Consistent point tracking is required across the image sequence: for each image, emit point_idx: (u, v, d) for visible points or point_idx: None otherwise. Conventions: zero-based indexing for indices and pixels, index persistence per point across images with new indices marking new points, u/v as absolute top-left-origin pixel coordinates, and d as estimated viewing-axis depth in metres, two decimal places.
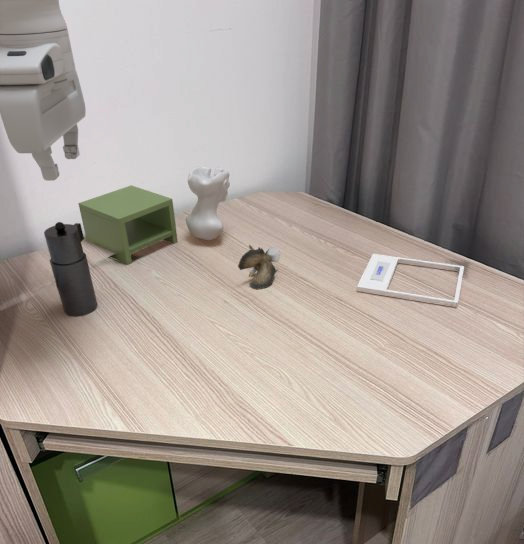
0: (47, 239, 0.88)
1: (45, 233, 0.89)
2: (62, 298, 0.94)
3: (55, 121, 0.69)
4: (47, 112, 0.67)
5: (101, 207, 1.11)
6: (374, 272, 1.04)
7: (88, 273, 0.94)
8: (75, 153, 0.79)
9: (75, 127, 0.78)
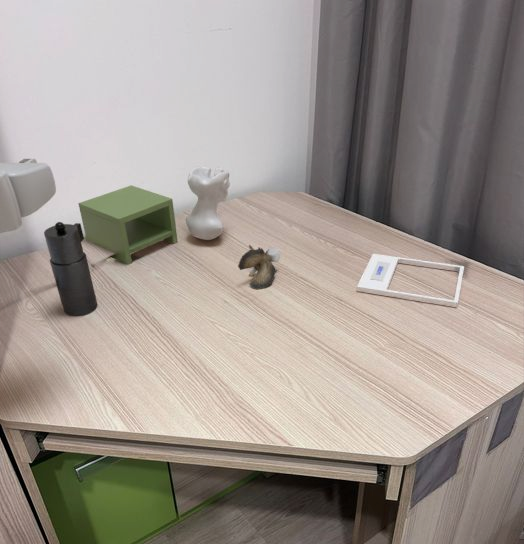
0: (47, 239, 0.88)
1: (45, 233, 0.89)
2: (62, 298, 0.94)
3: None
4: None
5: (101, 207, 1.11)
6: (374, 272, 1.04)
7: (88, 273, 0.94)
8: None
9: None
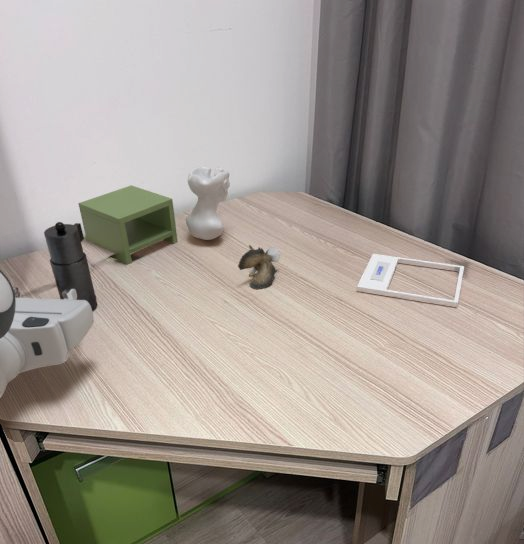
0: (47, 239, 0.88)
1: (45, 233, 0.89)
2: (62, 298, 0.94)
3: (42, 305, 0.78)
4: (50, 311, 0.76)
5: (101, 207, 1.11)
6: (374, 272, 1.04)
7: (88, 273, 0.94)
8: (14, 289, 0.84)
9: None
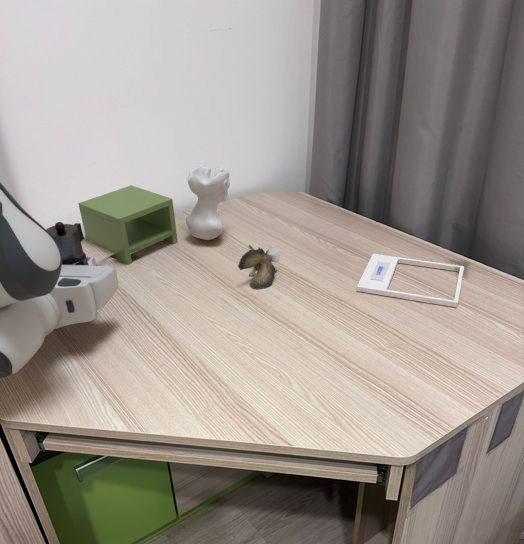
0: None
1: None
2: None
3: (72, 270, 0.87)
4: (80, 275, 0.85)
5: (101, 207, 1.11)
6: (374, 272, 1.04)
7: None
8: None
9: None
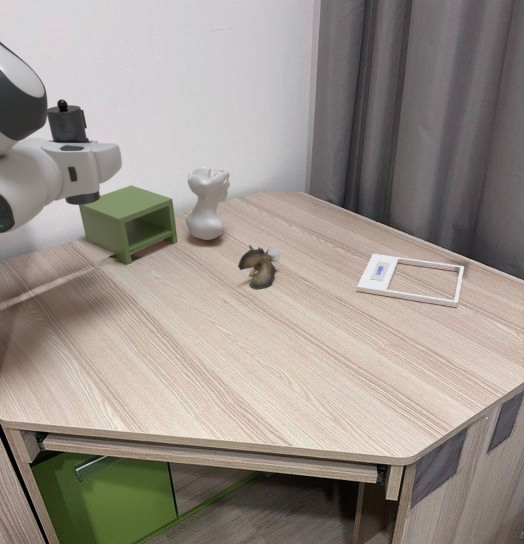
0: (49, 116, 0.86)
1: (47, 110, 0.86)
2: None
3: (75, 146, 0.85)
4: None
5: (101, 207, 1.11)
6: (374, 272, 1.04)
7: None
8: None
9: None
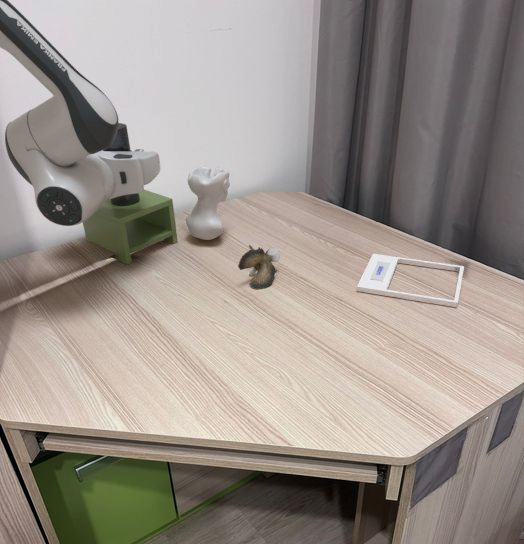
0: None
1: None
2: None
3: (122, 154, 1.02)
4: None
5: (101, 207, 1.11)
6: (374, 272, 1.04)
7: None
8: None
9: None
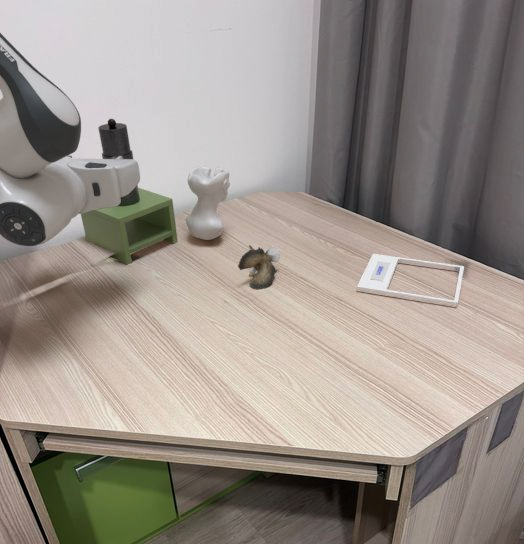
0: (101, 132, 1.04)
1: (99, 128, 1.04)
2: None
3: (97, 162, 0.90)
4: None
5: None
6: (374, 272, 1.04)
7: None
8: (69, 156, 0.97)
9: None
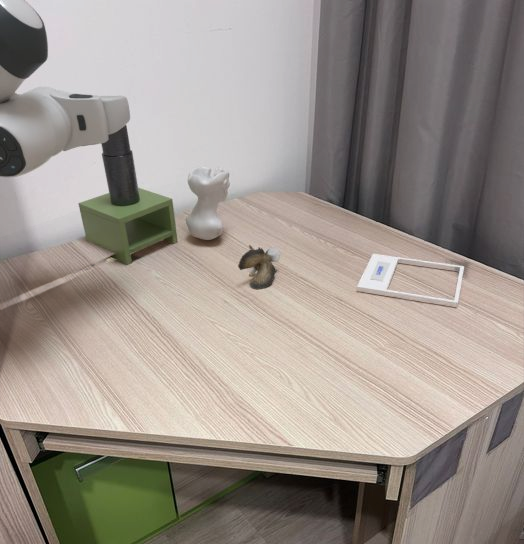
0: None
1: None
2: (111, 189, 1.10)
3: None
4: None
5: (101, 207, 1.11)
6: (374, 272, 1.04)
7: (134, 167, 1.09)
8: None
9: None
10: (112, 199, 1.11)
